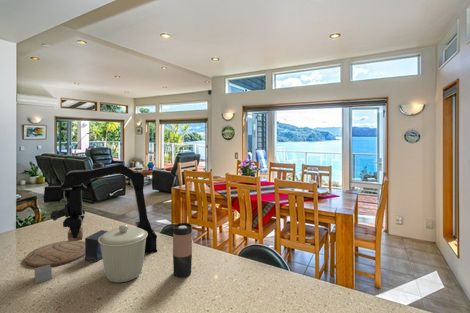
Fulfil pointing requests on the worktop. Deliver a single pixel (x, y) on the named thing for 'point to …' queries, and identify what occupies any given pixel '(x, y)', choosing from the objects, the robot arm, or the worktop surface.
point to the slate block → (43, 273)
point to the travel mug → (182, 249)
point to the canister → (123, 252)
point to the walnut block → (79, 236)
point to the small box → (93, 247)
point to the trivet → (56, 254)
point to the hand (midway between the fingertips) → (75, 235)
